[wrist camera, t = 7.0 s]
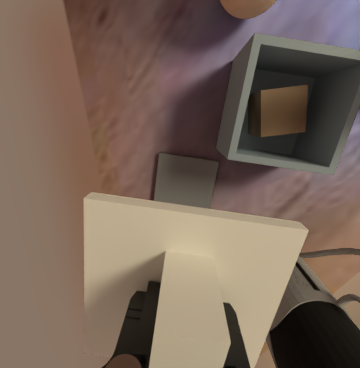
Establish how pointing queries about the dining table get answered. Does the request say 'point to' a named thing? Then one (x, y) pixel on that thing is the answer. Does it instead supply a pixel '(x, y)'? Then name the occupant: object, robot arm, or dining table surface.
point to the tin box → (316, 102)
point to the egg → (246, 7)
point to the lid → (184, 275)
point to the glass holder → (314, 322)
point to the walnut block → (277, 111)
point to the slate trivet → (185, 180)
